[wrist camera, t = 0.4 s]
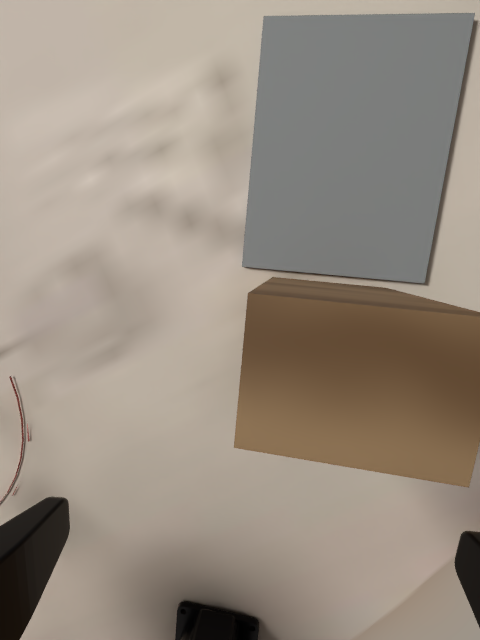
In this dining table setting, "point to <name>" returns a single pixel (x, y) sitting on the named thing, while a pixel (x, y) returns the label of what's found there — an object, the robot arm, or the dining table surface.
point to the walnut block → (361, 379)
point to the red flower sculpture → (22, 432)
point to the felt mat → (353, 141)
